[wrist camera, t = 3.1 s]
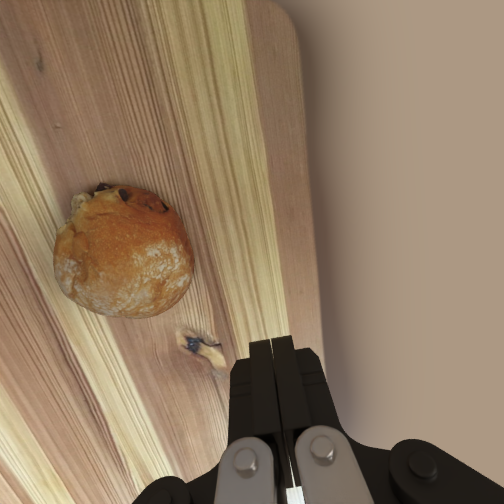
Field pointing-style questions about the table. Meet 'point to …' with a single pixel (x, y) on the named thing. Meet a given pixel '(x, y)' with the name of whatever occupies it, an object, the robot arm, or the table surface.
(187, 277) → the bread roll
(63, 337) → the table surface
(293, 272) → the table surface
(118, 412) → the table surface
